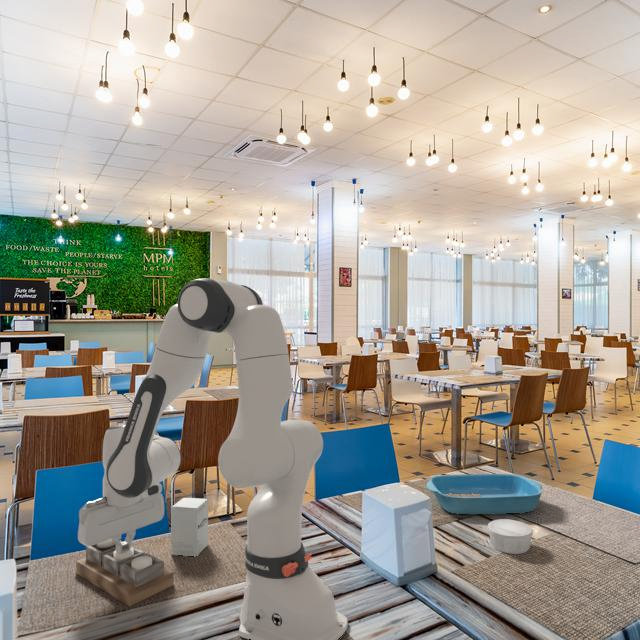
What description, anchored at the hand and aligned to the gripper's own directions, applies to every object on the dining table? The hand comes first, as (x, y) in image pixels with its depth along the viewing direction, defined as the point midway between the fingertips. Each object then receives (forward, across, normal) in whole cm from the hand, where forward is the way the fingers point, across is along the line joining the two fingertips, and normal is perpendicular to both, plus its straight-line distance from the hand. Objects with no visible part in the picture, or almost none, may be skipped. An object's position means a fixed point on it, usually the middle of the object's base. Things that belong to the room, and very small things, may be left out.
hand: (123, 550), depth 120 cm
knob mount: (+7, 0, 0) cm, 7 cm away
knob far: (+1, 0, +7) cm, 7 cm away
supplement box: (+7, +19, 0) cm, 20 cm away
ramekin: (+7, +72, -66) cm, 98 cm away
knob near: (+4, 0, -8) cm, 8 cm away
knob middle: (+4, 0, 0) cm, 4 cm away
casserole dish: (+7, +98, -49) cm, 110 cm away
